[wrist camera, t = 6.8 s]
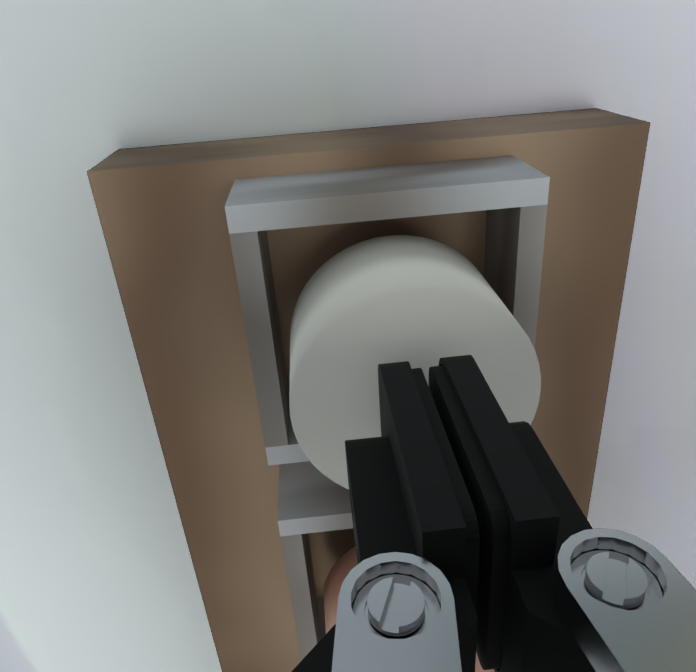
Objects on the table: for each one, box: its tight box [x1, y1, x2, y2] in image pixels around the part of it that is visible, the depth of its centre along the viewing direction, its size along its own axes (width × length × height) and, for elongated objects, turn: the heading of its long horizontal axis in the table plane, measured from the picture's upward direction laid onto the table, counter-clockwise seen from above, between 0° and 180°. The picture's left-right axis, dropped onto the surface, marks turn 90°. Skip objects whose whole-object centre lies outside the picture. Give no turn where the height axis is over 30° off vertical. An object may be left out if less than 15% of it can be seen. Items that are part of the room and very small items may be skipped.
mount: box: [87, 108, 650, 672], centre depth 21 cm, size 14×26×6 cm, turn 4°
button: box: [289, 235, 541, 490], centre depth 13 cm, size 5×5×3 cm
